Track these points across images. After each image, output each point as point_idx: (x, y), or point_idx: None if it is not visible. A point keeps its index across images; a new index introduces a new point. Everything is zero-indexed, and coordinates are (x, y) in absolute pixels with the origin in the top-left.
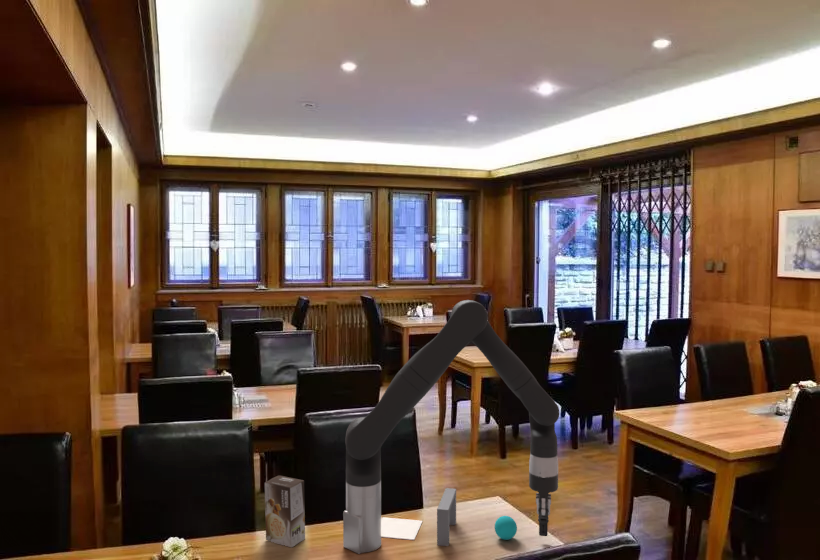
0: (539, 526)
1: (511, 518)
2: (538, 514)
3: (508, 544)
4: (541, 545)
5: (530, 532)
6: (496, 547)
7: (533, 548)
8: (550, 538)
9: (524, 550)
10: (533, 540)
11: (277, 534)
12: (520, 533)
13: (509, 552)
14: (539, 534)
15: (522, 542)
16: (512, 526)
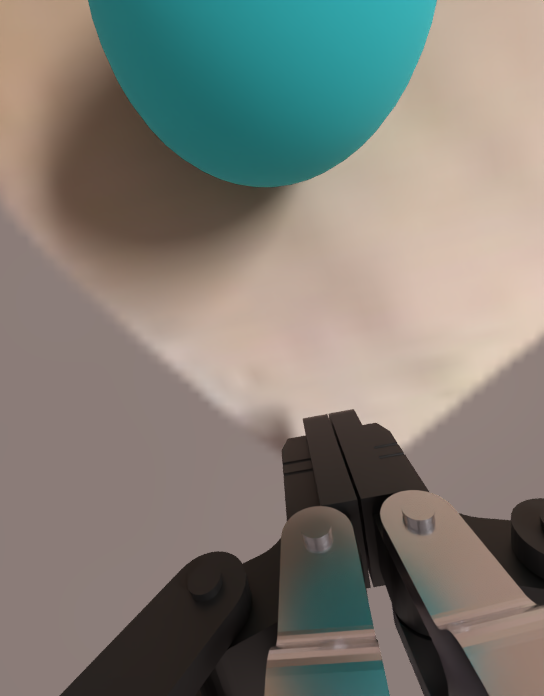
0: (314, 469)
1: (304, 21)
2: (274, 651)
3: (158, 144)
4: (262, 408)
5: (467, 282)
6: (36, 34)
7: (187, 366)
8: (400, 443)
9: (119, 309)
10: (323, 337)
11: None
12: (424, 199)
13: (14, 195)
14: (304, 420)
15: (252, 260)
16: (174, 122)
